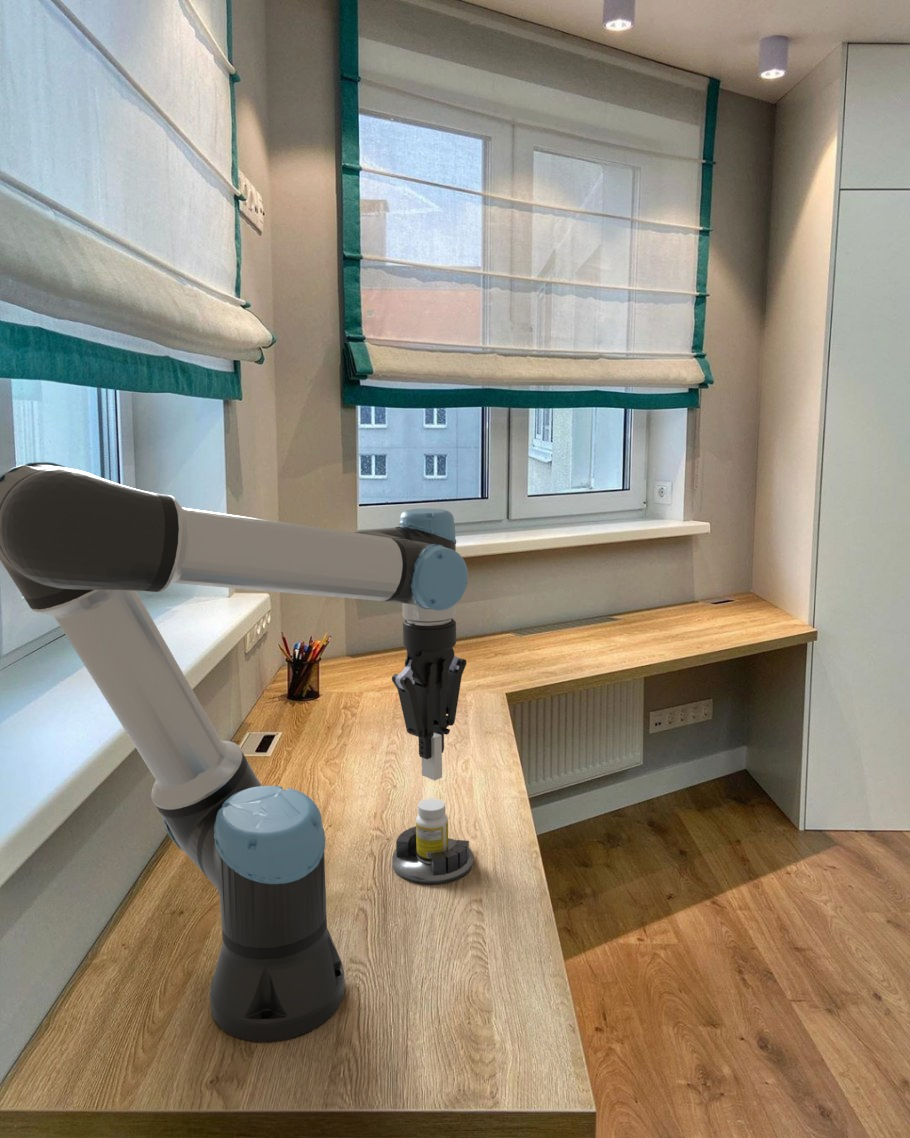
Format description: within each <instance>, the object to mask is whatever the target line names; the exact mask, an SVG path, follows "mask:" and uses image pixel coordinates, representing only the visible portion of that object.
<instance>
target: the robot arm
mask: <svg viewBox="0 0 910 1138" xmlns="http://www.w3.org/2000/svg"><path fill="white" fill-rule="evenodd" d="M398 525H399V526H395V527H393V528H384V529H383V528H382V529H374V530H373V529H372V530H365V531H364V530H361V531H354V532H353V531H346V530H339V529H332V528H325V527H318V526H310V525H304V524H297V523H290V522H285V521H278V520H277V521H276V520H270V519H263V518H257V517H249V516H242V515H236V514H230V513H229V514H228V513H222V512H214V511H208V510H200V509H194V508H187V507H182V505H180V503H179V502H178V501H177V499H176V498H175V496H172V495H170V494H161V493H157V492H151V491H146V490H141V489H138V488H133V487H131V486H127V485H123V484H120V483H118V482H114V481H112V480H108V479H105V478H103V477H100V476H98V475H94V474H92V473H90V472H87V471H84V470H81V469H80V470H79V469H76V468H69V467H66V466H64V465H61V464H59V463H54V462H49V461H48V462H47V461H35V462H28V463H25V464H21V465H18V466H14V467H11V468H9V469H8V470H6V471H4V472H2V473H0V563H1V564H2V565H3V567H4V569H5V570H6V572H7V574H8V575H9V576H10V577H11V579H12V582H13V583H14V584H15V586H16V588H17V589H18V590H19V592H20V593H21V595H22V597H23V598H24V600H25V602H26V603H27V605H28V606H29V608H30V609H31V611H33V612H36V613H40V614H46V615H50V616H52V617H54V619H55V621H56V622H57V623H58V625H59V627H60V628H61V630H62V632H63V633H64V634H65V636H66V638H67V640H68V641H69V643H70V645H71V646H72V647H73V649H74V650H75V653H76V654H77V656H78V658H79V659H80V661H81V662H82V663H83V666H84V667H85V668H86V669H87V672H88V673H89V675H90V676H91V678H92V680H93V681H94V683H95V684H96V686H97V687H98V689H99V692H101V694H102V696H103V698H104V699H105V700H106V703H107V704H108V705H109V707H110V708H111V710H112V712H113V713H114V715H115V717H116V718H117V719H118V721H119V723H120V724H121V726H122V728H123V730H124V731H125V733H126V734H127V736H128V737H129V739H130V741H131V742H132V744H133V745H134V747H135V748H136V750H137V752H138V754H139V756H140V757H141V758H142V760H143V761H144V763H145V765H146V767H147V768H148V770H149V771H150V773H151V774H152V776H153V778H154V779H155V781H154V784H153V786H152V789H151V794H150V797H151V800H152V802H153V804H154V806H155V807H156V808H157V810H158V813H160V815H161V816H162V819H163V824H164V826H165V828H166V832H167V833H168V836H169V838H171V840H172V841H173V843H174V844H175V846H177V847H178V848H179V849H180V850H181V851H183V852H184V853H185V854H186V855H187V857H188V858H189V859H190V860H191V861H192V862H193V864H195V866H196V867H197V868H198V869H199V870H200V871H201V872H202V873H203V874H204V875H205V877H206V878H207V879H208V880H209V881H210V882H211V883H212V885H213V886H214V887H215V888H216V889H217V890H216V891H217V892H218V896H219V906H220V919H221V922H220V923H221V932H222V942H221V948H220V952H219V953H218V958H217V962H216V965H215V968H214V969H215V970H214V974H213V976H212V979H211V981H210V986H209V987H210V988H209V997H210V998H209V999H210V1000H209V1001H210V1011H211V1016H212V1018H213V1021H214V1022H215V1023H216V1025H217V1026H218V1027H219V1028H220V1029H221V1030H223V1031H224V1032H225V1033H227V1034H229V1035H230V1036H233V1037H235V1038H238V1039H241V1040H245V1041H250V1042H251V1041H252V1042H263V1043H264V1042H277V1041H283V1040H284V1041H285V1040H289V1039H291V1038H295V1037H298V1036H301V1035H304V1034H306V1033H308V1032H310V1031H313V1030H315V1029H316V1028H318V1027H319V1026H321V1025H322V1024H324V1023H325V1022H327V1020H329V1019H330V1018H331V1017H333V1015H334V1014H335V1013H336V1011H338V1008H339V1007H340V1006H341V1003H342V1002H343V999H344V996H345V985H346V984H345V971H344V966H343V962H342V960H341V957H340V955H339V953H338V951H337V948H336V945H335V943H334V940H333V939H332V936H331V933H330V930H329V928H328V921H327V920H328V919H327V890H326V889H327V888H326V887H327V885H326V884H327V883H326V861H325V860H326V855H325V854H326V853H325V849H326V835H325V829H324V825H323V820H322V818H323V817H322V814H321V811H320V809H319V806H318V805H317V804H316V803H315V801H314V800H313V799H312V798H311V797H309V796H308V795H306V794H305V793H304V792H302V791H299V790H297V789H295V788H292V787H291V788H290V787H289V788H287V789H283V786H279V785H262V783H261V782H260V780H259V779H258V777H257V775H256V773H255V772H254V770H253V767H252V766H251V764H250V763H249V761H248V759H247V757H246V755H245V754H244V752H243V750H242V749H241V747H240V746H239V744H238V743H235V742H234V741H230V740H222V739H221V737H220V735H219V734H218V733H217V731H216V729H215V727H214V725H213V724H212V722H211V720H210V719H209V717H208V715H207V713H206V711H205V709H204V707H203V706H202V704H201V703H200V701H199V698H198V697H197V695H196V694H195V692H194V689H193V688H192V687H191V685H190V683H189V681H188V680H187V678H186V676H185V674H184V673H183V670H182V669H181V667H180V665H179V664H178V662H177V661H176V659H175V657H174V655H173V654H172V652H171V650H170V648H169V646H168V645H167V643H166V640H165V639H164V638H163V635H162V634H161V632H160V630H159V629H158V627H157V625H156V623H155V621H154V619H153V618H152V616H151V614H150V613H149V611H148V609H147V607H146V605H145V604H144V602H143V601H142V599H141V597H140V595H139V593H138V592H152V593H162V592H163V591H165V590H166V589H168V588H169V587H170V586H171V585H172V584H179V585H182V584H183V585H192V586H202V587H214V588H215V587H216V588H227V589H239V590H248V591H250V590H251V591H261V592H262V591H263V592H274V593H284V594H286V593H287V594H297V595H307V596H308V595H309V596H320V597H321V596H323V597H330V598H331V597H334V598H345V599H356V600H366V601H368V600H369V601H379V602H386V603H394V604H395V603H397V604H402V605H401V609H402V610H401V611H402V614H401V615H402V618H403V619H405V620H404V621H403V622H402V642H403V643H402V644H403V647H405V650H406V658H405V661H404V669H402V671H401V672H400V673H399V674H397V673H394V674H393V675H392V677H391V681H392V683H393V686H395V688H396V689H397V692H398V697H399V702H400V706H401V710H402V711H401V712H402V715H403V720H404V723H405V728H406V733H408V734H409V735H412V736H415V737H418V755H419V758H421V775H422V777H425V778H427V779H430V780H433V781H438V780H440V779H441V778H443V753H444V750H445V736H447V735H449V734H450V731H451V729H450V728H448V727H449V726H454V724H455V722H456V715H457V710H458V709H457V708H458V702H459V696H460V690H461V684H462V678H463V677H462V676H463V673H464V671H465V669H466V666H467V660H466V659H464V658H461V657H458V656H456V655H455V651H454V648H453V647H455V646H456V645H457V622H456V621H455V619H454V618H455V616H456V614H457V613H456V612H457V611H456V609H457V605H456V604H458V603H459V601H461V599H462V598H463V597H464V594H465V593H466V590H467V585H468V579H469V570H468V566H467V564H466V562H465V559H464V558H463V557H462V556H461V554H459V553H458V552H457V549H456V548H457V547H456V546H457V545H456V544H457V540H456V527H455V526H456V525H455V517H454V515H453V513H452V512H451V511H448V510H447V509H441V508H414V509H408V510H407V509H406V510H404V511H403V512H402V513H401V514H400V519H399V524H398Z"/></svg>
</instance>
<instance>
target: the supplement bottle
mask: <svg viewBox="0 0 910 1138" xmlns="http://www.w3.org/2000/svg"><path fill="white" fill-rule="evenodd" d="M417 814H418V815H417V816H416V818H415V826H416V844H417V858H418V860H419V861H421V862H423V863H426V864H431V853H439V852H444V851H446V850H448V849H449V848H448V838H449V819H448V816H447V814H446V803H445V802H444V801H443V800H441V799H440V798H439V799H438V798H425V799H422V800H421V801H419V802H418V804H417Z"/></svg>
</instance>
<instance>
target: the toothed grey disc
mask: <svg viewBox="0 0 910 1138" xmlns="http://www.w3.org/2000/svg"><path fill="white" fill-rule="evenodd" d="M395 843H396V846H395V847H396V848H395V850H394V852H393V854H392V858H391V859H392V869H393V871H394V873H395V874H397V876H398V877H400V878H401V879H403V880H405V881H407V882H411V883H414V884H418V885H428V886H429V885H432V886H433V885H444V884H448V883H449V884H450V883H452V882H455V881H458V880H461V879H462V878H464V877H465V876H467V875H468V873H470V872H471V870H472V869H473V866H474V854H473V851H472V849H471V848H470V841H469V840H463V839H453V838H449V837H448V848H449V849H448V850H446V851H444V852H439V853H431V864H426V863H423V862H421V861H419V860H418V858H417V844H416V825H415V826H412V827H409V828H408V829H405V830H404V831H403V832H401V833H400V834H399V835H398V837H397V839H396V841H395Z"/></svg>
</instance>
